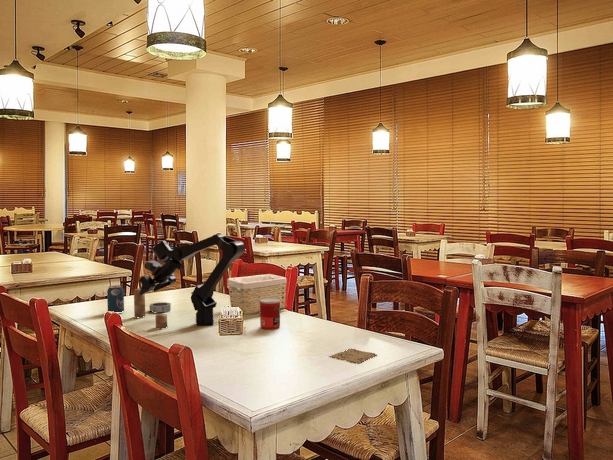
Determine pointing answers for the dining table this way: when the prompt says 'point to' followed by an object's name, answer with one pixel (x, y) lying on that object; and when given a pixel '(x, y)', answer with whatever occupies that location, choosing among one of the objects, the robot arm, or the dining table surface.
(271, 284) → the storage basket
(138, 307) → the tall walnut peg
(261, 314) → the canned food
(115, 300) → the soda can
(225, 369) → the dining table surface
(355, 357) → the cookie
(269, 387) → the dining table surface
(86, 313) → the dining table surface
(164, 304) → the steel ring socket
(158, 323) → the short walnut peg
